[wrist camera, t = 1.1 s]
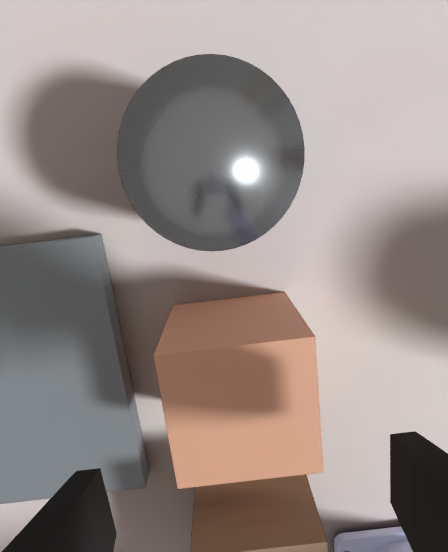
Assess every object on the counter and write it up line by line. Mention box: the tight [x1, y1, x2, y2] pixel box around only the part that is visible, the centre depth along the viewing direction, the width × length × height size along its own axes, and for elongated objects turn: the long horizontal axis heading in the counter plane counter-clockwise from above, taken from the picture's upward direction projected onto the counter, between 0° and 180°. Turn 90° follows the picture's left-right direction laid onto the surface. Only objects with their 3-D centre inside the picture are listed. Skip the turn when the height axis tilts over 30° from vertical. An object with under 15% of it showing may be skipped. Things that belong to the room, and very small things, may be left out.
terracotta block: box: [154, 292, 323, 489], centre depth 14 cm, size 5×5×5 cm
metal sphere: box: [117, 54, 304, 251], centre depth 12 cm, size 5×5×5 cm
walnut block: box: [190, 474, 328, 552], centre depth 16 cm, size 5×5×5 cm
